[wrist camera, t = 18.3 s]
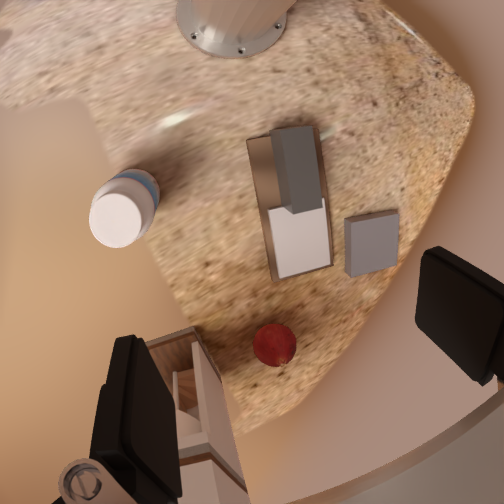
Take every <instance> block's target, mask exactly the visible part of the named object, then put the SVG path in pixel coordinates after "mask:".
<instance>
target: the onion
mask: <svg viewBox="0 0 504 504" xmlns="http://www.w3.org/2000/svg"><path fill="white" fill-rule="evenodd" d="M253 348H254V353H255V354H256V356H257V357H258V359H259V360H260V361H261V362H262V363H265V364H267V365H269V366H273V367H279V366H281V367H283V366H284V365H285V364H287V363H288V362H289V361H291V360H292V358H293V356H294V354H295V352H296V338H295V335H294V334H293V332H292V331H291V330H290V329H289V328H288V327H286V326H284V325H282V324H273V323H272V324H268V325H265V326H264V327H262V328H260V329H259V330H258V332H257V333H256V335H255V337H254V340H253Z"/></svg>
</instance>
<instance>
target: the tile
mask: <svg viewBox="0 0 504 504" xmlns="http://www.w3.org/2000/svg"><path fill="white" fill-rule="evenodd" d="M344 230H345V272H346V273H347V274H348V275H349V276H350V277H351V278H352V277H356V276H359V275H363V274H367V273H371V272H374V271H378V270H381V269H385V268H389V267H392V266H396V265H397V253H398V236H399V213H397V212H395V211H392V210H388V211H383V212H377V213H372V214H367V215H361V216H356V217H351V218H345V219H344Z"/></svg>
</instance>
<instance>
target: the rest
mask: <svg viewBox="0 0 504 504" xmlns="http://www.w3.org/2000/svg"><path fill="white" fill-rule="evenodd" d="M313 136H314V142H315V149H316V156H317V163H318V171H319V179H320V187H321V195H322V197H323V198H324V201H325V210H326V220H327V230H328V241H329V253H330V265H326V266H323V267H319V268H316V269H312V270H309V271H305V272H302V273H298V274H295V275H291V276H287V277H284V278H279V275H278V269H277V263H276V257H275V250H274V244H273V238H272V232H271V226H270V220H269V215H268V209H270V208H275V207H279V206H282V204H281V198H280V191H279V185H278V179H277V173H276V167H275V161H274V155H273V149H272V144H271V138H270V136H265V137H260V138H255V139H249V140H246V144H247V149H248V154H249V159H250V165H251V170H252V175H253V181H254V186H255V191H256V197H257V202H258V208H259V213H260V219H261V224H262V230H263V235H264V241H265V246H266V252H267V257H268V263H269V269H270V274H271V279H272V281H273V282H274V283H275V282H278V281H282V280H286V279H289V278H293V277H296V276H300V275H303V274H307V273H310V272H314V271H317V270H320V269H324V268H327V267H331V266H334V264H333V251H332V239H331V227H330V217H329V207H328V198H327V189H326V181H325V173H324V165H323V158H322V151H321V144H320V137H319V130H318V129H313Z"/></svg>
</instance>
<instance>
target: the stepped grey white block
mask: <svg viewBox="0 0 504 504" xmlns="http://www.w3.org/2000/svg"><path fill="white" fill-rule="evenodd" d="M269 132H270V138H271V144H272V149H273V155H274V161H275V167H276V173H277V179H278V185H279V191H280V198H281V204H282V206H279V207H275V208H270V209H268V215H269V220H270V226H271V232H272V238H273V244H274V250H275V257H276V263H277V269H278V275H279V278H284V277H287V276H291V275H295V274H298V273H302V272H305V271H309V270H312V269H316V268H319V267H323V266H326V265H330V253H329V241H328V230H327V220H326V210H325V201H324V198H323V197H322V195H321V187H320V179H319V171H318V163H317V156H316V149H315V142H314V136H313V129H312V126H294V127H287V128H280V129H274V130H269Z"/></svg>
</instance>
